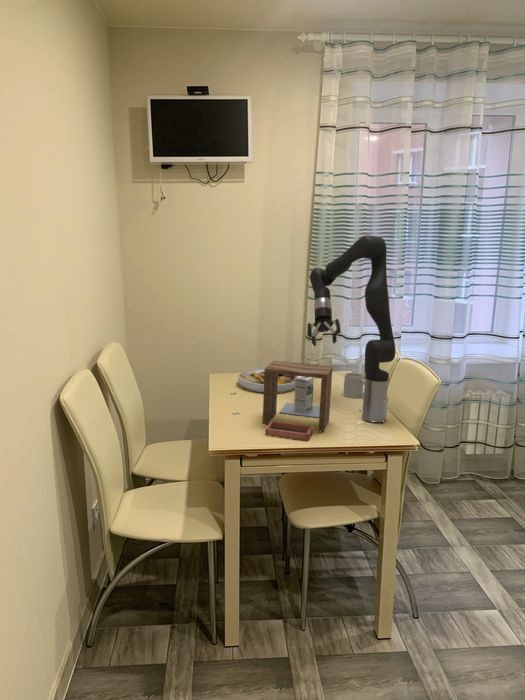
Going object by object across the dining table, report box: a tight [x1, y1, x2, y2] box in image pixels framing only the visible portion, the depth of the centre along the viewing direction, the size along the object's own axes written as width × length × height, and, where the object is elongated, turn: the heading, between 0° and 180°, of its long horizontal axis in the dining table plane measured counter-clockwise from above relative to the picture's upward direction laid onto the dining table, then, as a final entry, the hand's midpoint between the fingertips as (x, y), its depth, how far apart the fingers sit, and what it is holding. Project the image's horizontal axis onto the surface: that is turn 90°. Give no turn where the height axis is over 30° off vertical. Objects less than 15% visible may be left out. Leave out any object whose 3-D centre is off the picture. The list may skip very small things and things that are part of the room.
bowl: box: [237, 368, 299, 394], centre depth 256 cm, size 30×30×8 cm
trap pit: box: [264, 420, 314, 442], centre depth 194 cm, size 9×16×2 cm, turn 74°
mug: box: [343, 372, 365, 399], centre depth 244 cm, size 11×10×10 cm
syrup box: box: [293, 376, 315, 413], centre depth 218 cm, size 6×6×14 cm
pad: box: [278, 402, 320, 419], centre depth 220 cm, size 14×18×1 cm
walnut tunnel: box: [262, 360, 334, 433], centre depth 204 cm, size 14×24×22 cm, turn 74°
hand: (324, 344), depth 223 cm, fingers open, 8 cm apart
